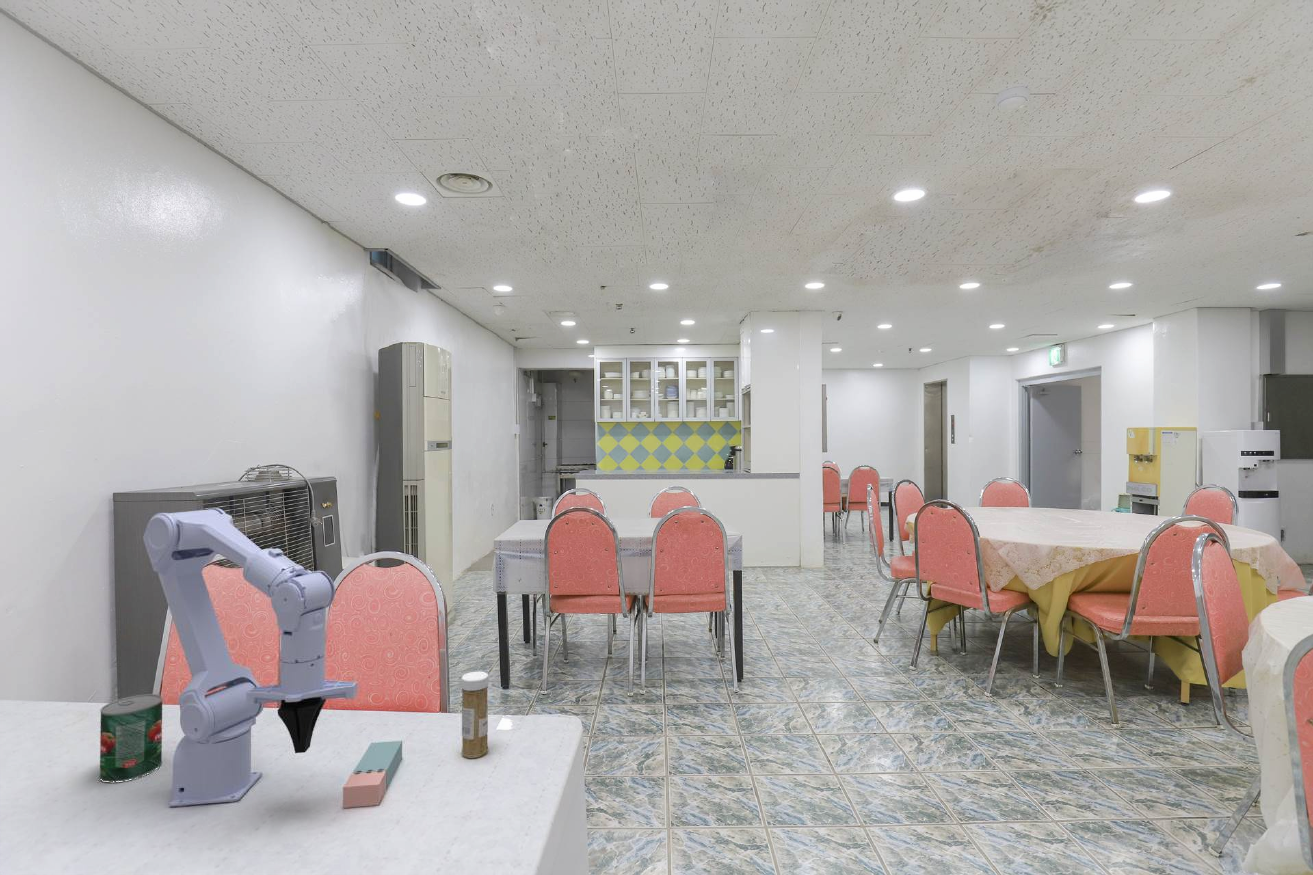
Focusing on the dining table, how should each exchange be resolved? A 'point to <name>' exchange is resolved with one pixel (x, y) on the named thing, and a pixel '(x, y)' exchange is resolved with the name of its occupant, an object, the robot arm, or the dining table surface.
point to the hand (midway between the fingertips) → (302, 749)
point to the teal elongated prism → (381, 759)
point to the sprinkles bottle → (474, 714)
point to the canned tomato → (130, 737)
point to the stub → (364, 789)
